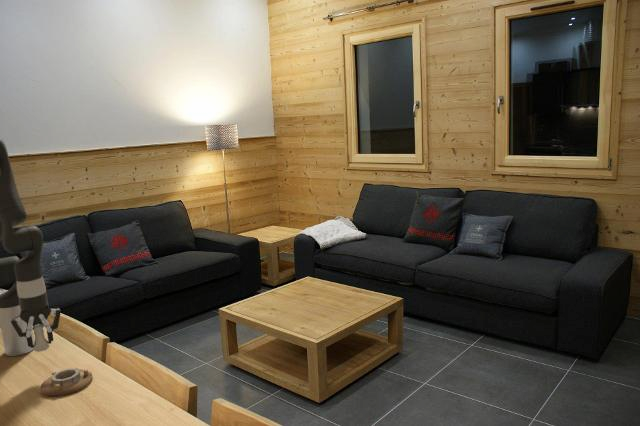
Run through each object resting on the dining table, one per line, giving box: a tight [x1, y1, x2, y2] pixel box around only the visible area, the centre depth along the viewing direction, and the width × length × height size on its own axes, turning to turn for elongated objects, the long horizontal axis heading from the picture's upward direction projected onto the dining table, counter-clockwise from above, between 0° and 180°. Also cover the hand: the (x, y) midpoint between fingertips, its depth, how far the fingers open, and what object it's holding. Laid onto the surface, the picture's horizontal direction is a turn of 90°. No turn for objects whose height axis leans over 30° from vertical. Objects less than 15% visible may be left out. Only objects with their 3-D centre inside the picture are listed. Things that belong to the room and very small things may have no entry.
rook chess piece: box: [32, 324, 51, 353], centre depth 165 cm, size 4×4×8 cm
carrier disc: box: [39, 367, 93, 398], centre depth 160 cm, size 14×14×3 cm
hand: (41, 344), depth 166 cm, fingers closed on rook chess piece, 4 cm apart
